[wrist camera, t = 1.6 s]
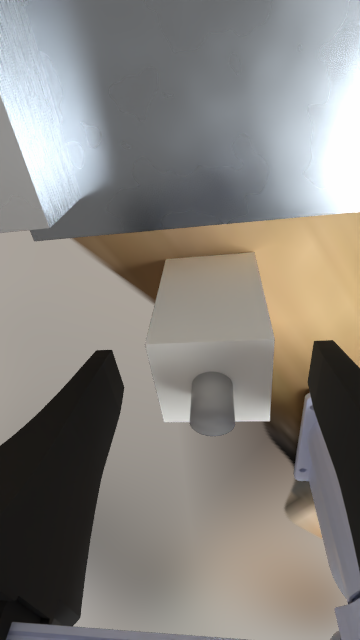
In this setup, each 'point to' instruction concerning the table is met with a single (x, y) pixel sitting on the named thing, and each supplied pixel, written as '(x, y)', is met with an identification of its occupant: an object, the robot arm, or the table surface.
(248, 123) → the press bed
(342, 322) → the table surface
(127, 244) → the table surface
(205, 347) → the housing block
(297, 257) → the table surface
